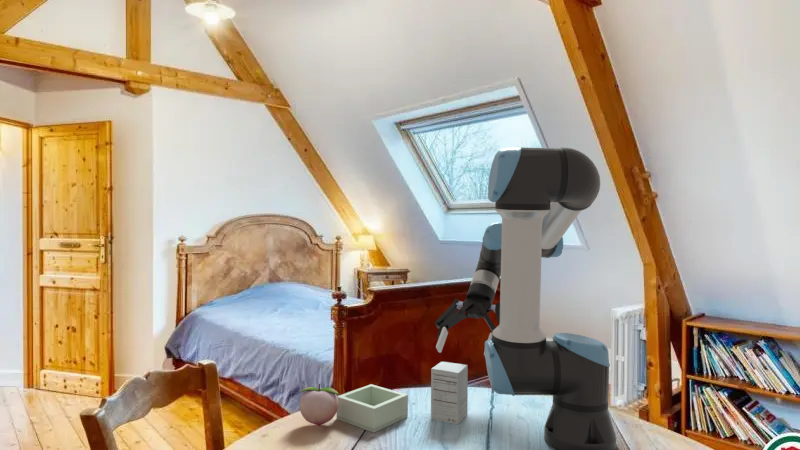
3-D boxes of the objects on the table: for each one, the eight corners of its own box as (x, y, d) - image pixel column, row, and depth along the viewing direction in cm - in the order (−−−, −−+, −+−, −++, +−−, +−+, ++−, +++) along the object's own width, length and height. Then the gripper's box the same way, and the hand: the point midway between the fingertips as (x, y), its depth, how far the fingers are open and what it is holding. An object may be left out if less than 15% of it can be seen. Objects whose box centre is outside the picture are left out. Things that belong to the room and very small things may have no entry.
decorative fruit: (297, 434, 117) (297, 390, 116) (300, 420, 125) (300, 379, 125) (339, 432, 118) (339, 389, 118) (339, 418, 126) (339, 378, 126)
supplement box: (440, 409, 133) (441, 360, 133) (468, 414, 129) (468, 364, 129) (429, 419, 126) (430, 368, 126) (458, 425, 123) (458, 372, 123)
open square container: (407, 416, 128) (407, 394, 127) (373, 432, 118) (374, 408, 118) (370, 404, 135) (371, 384, 135) (336, 418, 126) (336, 396, 126)
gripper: (527, 301, 144) (510, 368, 132) (446, 294, 157) (424, 354, 144) (522, 284, 140) (504, 352, 127) (439, 278, 152) (415, 339, 139)
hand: (461, 353), depth 135 cm, fingers open, 13 cm apart
